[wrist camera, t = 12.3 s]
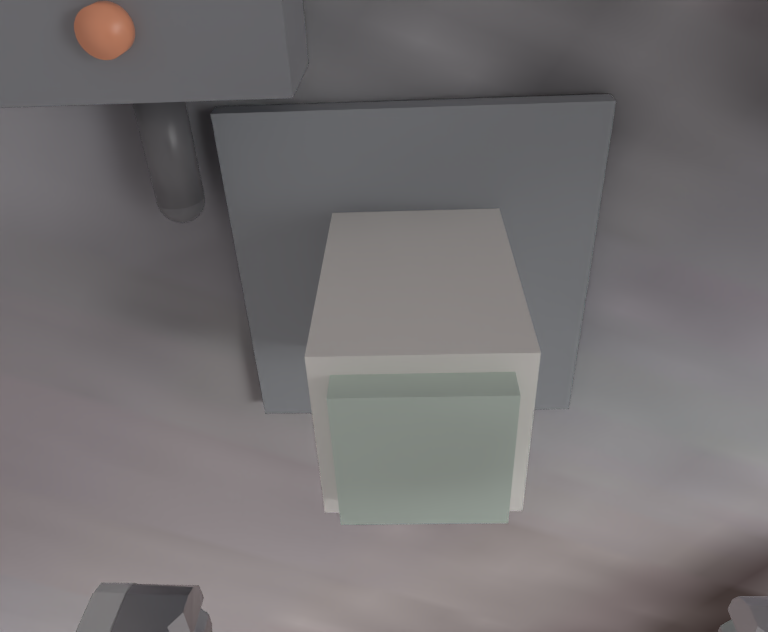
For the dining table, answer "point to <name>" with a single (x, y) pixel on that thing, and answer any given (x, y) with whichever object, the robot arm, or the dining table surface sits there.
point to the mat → (412, 206)
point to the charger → (421, 369)
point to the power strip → (153, 68)
